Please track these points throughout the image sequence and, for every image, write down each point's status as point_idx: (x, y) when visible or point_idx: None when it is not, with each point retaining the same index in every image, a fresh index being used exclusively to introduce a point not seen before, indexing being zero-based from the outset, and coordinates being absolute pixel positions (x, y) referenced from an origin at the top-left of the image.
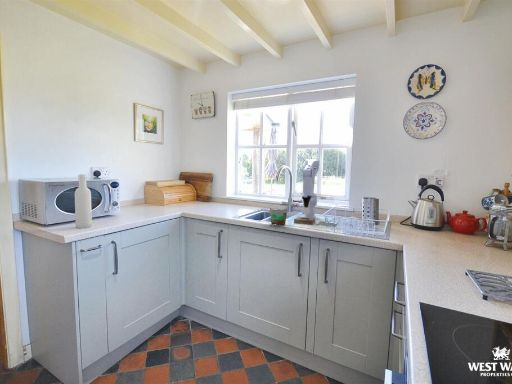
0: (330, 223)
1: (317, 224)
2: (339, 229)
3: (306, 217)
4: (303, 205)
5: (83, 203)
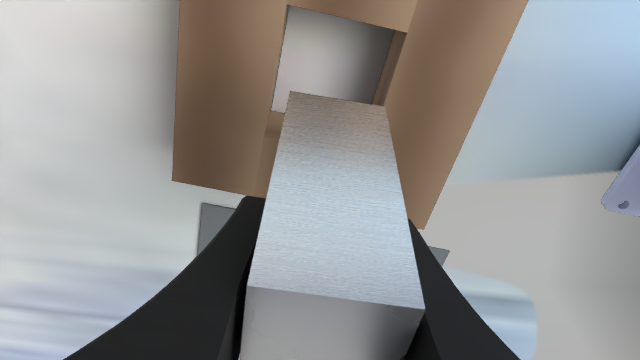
0: None
1: (212, 208)
2: (73, 340)
3: (444, 119)
4: (266, 199)
5: None
